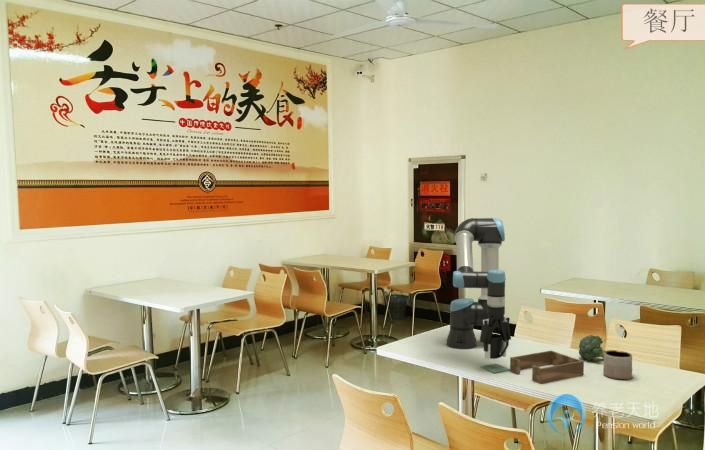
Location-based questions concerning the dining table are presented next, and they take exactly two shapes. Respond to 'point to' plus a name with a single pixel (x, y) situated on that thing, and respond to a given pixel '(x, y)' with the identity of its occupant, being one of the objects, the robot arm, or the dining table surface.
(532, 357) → the wooden tray frame
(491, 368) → the mat
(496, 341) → the mug
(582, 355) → the vegetable
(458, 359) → the dining table surface
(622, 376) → the planter
